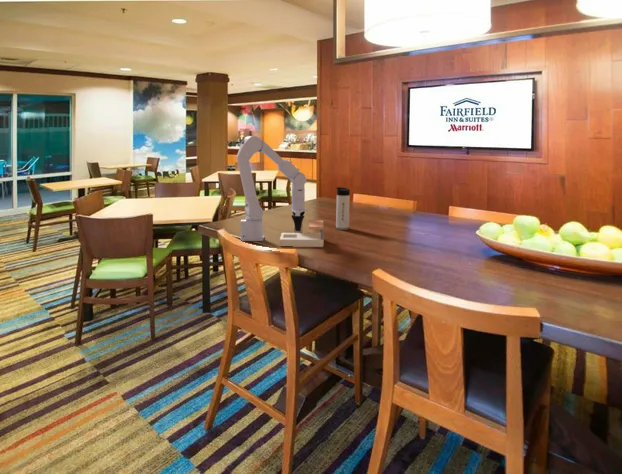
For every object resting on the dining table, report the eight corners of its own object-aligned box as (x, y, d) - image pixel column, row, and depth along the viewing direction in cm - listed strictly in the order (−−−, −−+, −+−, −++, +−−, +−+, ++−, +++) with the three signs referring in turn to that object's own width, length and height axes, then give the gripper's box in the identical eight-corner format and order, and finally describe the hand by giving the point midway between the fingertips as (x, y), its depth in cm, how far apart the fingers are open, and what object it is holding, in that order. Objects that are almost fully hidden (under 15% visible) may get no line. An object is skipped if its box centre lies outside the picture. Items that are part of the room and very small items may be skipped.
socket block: (279, 246, 176) (279, 226, 173) (281, 239, 188) (281, 220, 186) (323, 247, 175) (323, 226, 173) (322, 239, 188) (322, 220, 186)
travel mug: (340, 226, 213) (341, 186, 208) (351, 228, 209) (352, 187, 204) (332, 228, 209) (333, 187, 204) (344, 230, 205) (345, 189, 200)
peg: (293, 236, 192) (293, 219, 191) (294, 234, 196) (293, 217, 194) (302, 236, 192) (302, 219, 191) (302, 234, 196) (302, 217, 194)
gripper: (306, 201, 183) (306, 232, 187) (307, 196, 197) (307, 225, 201) (290, 201, 183) (290, 232, 187) (292, 196, 197) (292, 225, 201)
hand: (298, 228), depth 194 cm, fingers open, 7 cm apart
